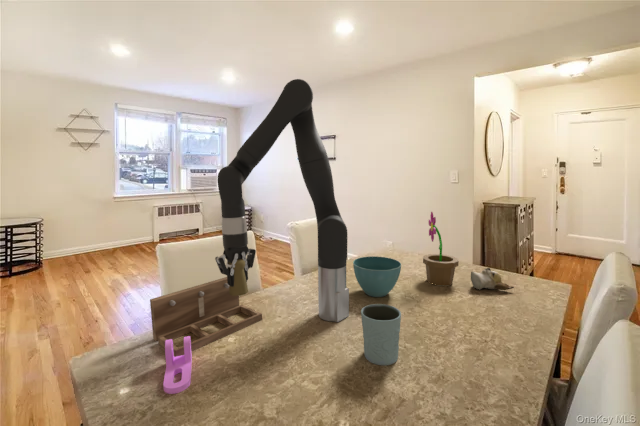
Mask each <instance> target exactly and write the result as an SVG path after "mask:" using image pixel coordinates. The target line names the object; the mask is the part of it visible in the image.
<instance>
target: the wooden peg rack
mask: <svg viewBox="0 0 640 426" xmlns="http://www.w3.org/2000/svg"><path fill="white" fill-rule="evenodd" d="M149 303H150V304H149V305H150V306H149V307H150V314H151V325H152V326H151V327H152V339H153V340H154V341H155V342H158V344H159V345H160V346H161V347H162V348H164V349H165V341H166V340H169V339H172V340H175V339H177V338H180V337H182V336H185V335H187V334H191V333H192V334H193V335H195V336H196V337H197V338H198V339H196V340H193V341H191V352H194V351H196V350H197V349H198V350H199V349H200V348H202V347H204V346H207V345H208V344H209V345H210V344H211V343H213V342H215V341H218V340H219V339H222V338H224V337H227V336H228V335H231V334H234V333H235V332H237V331H240V330H242V329H245V328H247V327H250V326H251V325H254V324H255V323H258V322H261V321H262V320H263V313H261V312H260V311H256V310H254V309H252V308H250V307H248V306H246V305H244V304H240V296H232V295H230V294H229V285H228V281H227V276H225V277H222V278H219V279H215V280H211V281H208V282H205V283H201V284H198V285H194V286H191V287H187V288H184V289H181V290H177V291H174V292H171V293H167V294H164V295H161V296H157V297H153V298H151V299H149ZM241 313H243V314H245V315H247V316H248V317H247V318H245V319H243V320H240V321H238V322H236V321H234V320H231V319H230V318H229V317H232V316H234V315H238V314H241ZM215 323H220V324H221V325H223V326H225V327H224V328H222V329H219V330H217V331H214V332H212V333H207V332H206V331H205V330H203V329H202V328H205V327H207V326H210V325H212V324H215ZM173 352H174V357H176V356H181V355H184V344H183V345H181V346H179V347H177V346H176V344H174V343H173Z"/></svg>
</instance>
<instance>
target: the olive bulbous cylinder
mask: <svg viewBox="0 0 640 426" xmlns="http://www.w3.org/2000/svg"><path fill="white" fill-rule="evenodd" d="M229 265H232V263H229ZM244 267H245V261H244V260H243V259H239V260H237V262H236V263H235V268H233V269H234V274H233V275H234V286H233V287H231V286H229V294H230V295H232V296H239V297H240V296H243V295H246V294H248V293H249V288H248V281H247V282H246V277H245V272H244ZM229 268H230V267H229Z"/></svg>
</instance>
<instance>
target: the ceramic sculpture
mask: <svg viewBox="0 0 640 426" xmlns="http://www.w3.org/2000/svg"><path fill="white" fill-rule="evenodd" d="M470 281H471V285H472V286H473V288H474V289H475V288H476V290H478V289H479V290H482V289H484V288H485V289H487V288H488V289H487V290H496V289H497V290H499V291H508V290H511V289H514V288H515V286H511V285H509V284H507V283H504V282H502V277H501V275H500V274H499V272H497V271H496V270H495V271H494V270H491V268H490V267H487V268H484V269H482V271H481V272H476V271H473V270H472V271H470Z"/></svg>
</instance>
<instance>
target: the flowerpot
mask: <svg viewBox="0 0 640 426" xmlns="http://www.w3.org/2000/svg"><path fill="white" fill-rule="evenodd" d="M436 222H437V220H436V216H434V212H433V211H430V219H428V226H429V227H430V228H429V229H428V237H430V239H431V242H434V239H435V235H437V236H438V241H439V246H438V250H439V253H432V254H431V253H430V254H426V255H423V257H422V264H424V265H425V271H426V281H428V282H427V283H429V282H430V283H433V284H436V285H435V286H437V285H449V286H451V285H450V284H452V285H453V283H454V281H453V280H454V277H455V272H456V268H457V267H458V266H459V264H460V263H459V261H460V260H459V258H458V257H455V256H453V255H447V254H443V242H442V235H441V233H440V231H439V229H438V227H437V226H436ZM430 283H429V284H430ZM433 284H432V285H433Z"/></svg>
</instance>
